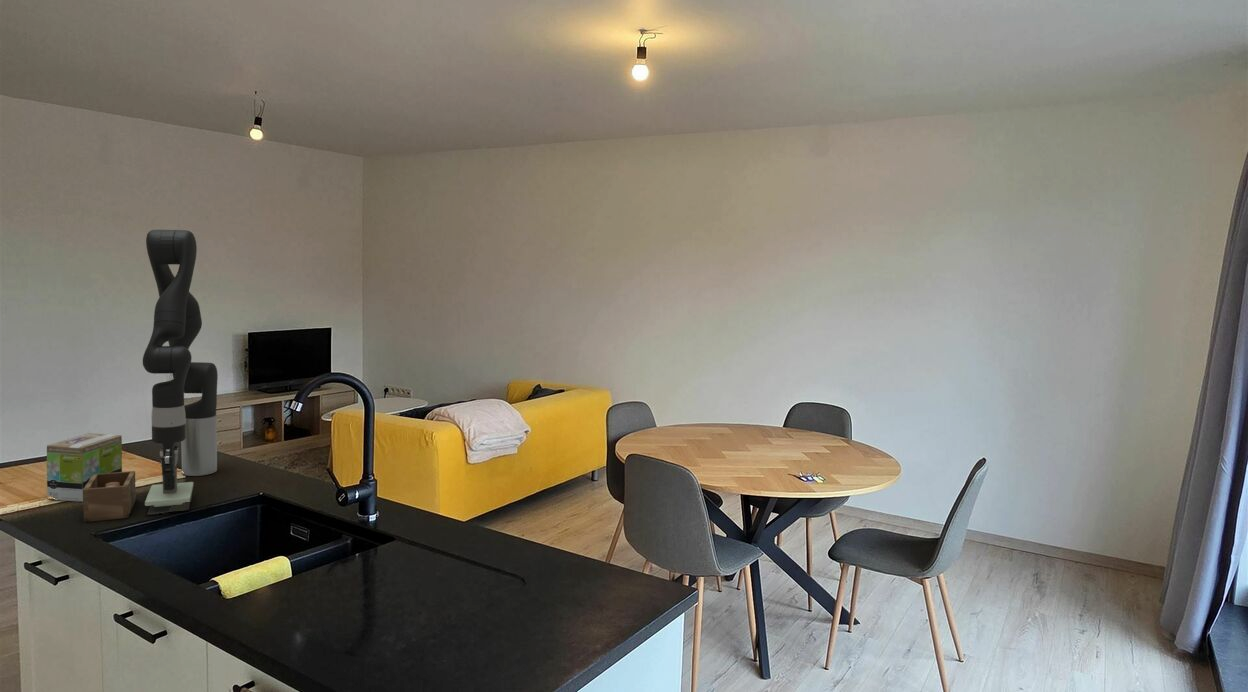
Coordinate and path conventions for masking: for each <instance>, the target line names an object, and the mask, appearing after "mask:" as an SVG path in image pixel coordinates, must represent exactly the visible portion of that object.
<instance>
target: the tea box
mask: <svg viewBox="0 0 1248 692" xmlns="http://www.w3.org/2000/svg"><path fill="white" fill-rule="evenodd" d="M122 436H123V435H120V434H109V433H108V434H107V433H105V434H104V433H92V432H91V433H89V432H87V433H84V434H82V435H78V436H75V437H71V438H68V439H64V440H62V441H58V442H54V443H51V444H47V445H46V497H47V496H51V497H53V498H55V499H57V500H56V501H61V502H62V501H63V502H64V501H65V502H82V503H83V489H84V487H85V486H86V484H87V483H88V481H89V480H90V479H91V477H92V476H93V474H99V473H113V472H123V461H122V459H123V452H122V451H123V450H122V449H123V441H122V440H123V438H122Z"/></svg>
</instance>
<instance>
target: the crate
mask: <svg viewBox="0 0 1248 692" xmlns="http://www.w3.org/2000/svg"><path fill="white" fill-rule="evenodd" d="M136 490H137V489H136V470H130V471H129V470H127V471H122V472H113V473H99V474H93V476H92V477H91V479H90V480H89V481H88V483H87V484H86V486H85V487H84V489H83V502H82V504H83V505H82V506H83V508H82V509H83V522H84V523H86V522H87V523H88V522H98V521H109V520H119V519H128V518H129V516H130V514H131V511H132V510H133V508H134V505H135V503H136V500H137V499H136V498H137V497H136V495H137V493H136Z"/></svg>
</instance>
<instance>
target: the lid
mask: <svg viewBox="0 0 1248 692" xmlns="http://www.w3.org/2000/svg"><path fill="white" fill-rule="evenodd" d="M166 471H171V469H166ZM161 475H162V476H161V477H162V483H161V484H151V486H150V489H149V491H148V493H147V496H146V499H145V501H144V506H146V507H148V506H149V507H150V506H151V505H154V507H159V506H171V505H182V504H183V503H185V502H190V498H191V496H192V493H193V490H194V481H188V482H187V481H186V482H178V467H175V475H174V489H173V490H165V489H164V476H163V474H162V473H161Z"/></svg>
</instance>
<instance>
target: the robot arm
mask: <svg viewBox="0 0 1248 692" xmlns="http://www.w3.org/2000/svg"><path fill="white" fill-rule="evenodd" d="M145 244H146V252H147V256H148V260H149V262H150V266H151V270H152V273H153V276H154V279H155V282H156V286H157V290H158V291H157V292H158V299H157V301H156V304H155V306H154V313H153V327H152V332H151V333H152V334H151V336H150V340H149V341H148V344H147V346H146V348H145V350H144V353H143V357H142V366H143V368H144V369H145V371H146V372H147V373H149V374H154V375H155V374H158V375H161V374H162V375H163V374H172V379H171V380H166V381H161V382H158V383H155V384H154V385H153V386H152V389H151V396H152V397H151V398H152V399H151V401H152V402H151V404H152V405H151V406H152V408H151V440H152V442H153V443H155V444H162V446H161V447H160V449H159V456H160V467H161V471H162V472H161V475H162V474H163V476H164V489H165V490H173V489H174V475H175V467H177V466H178V462H179V450H180V449H181V452H180V453H181V472H182V471H183V472H184V474H185V475H184V476H191V477H198V476H199V477H200V476H206V475H210V474H211V475H212V474H214V473H216V472H217V470H218V448H217V447H218V443H217V442H218V439H217V438H218V436H217V434H218V433H217V430H218V429H217V405H218V400H217V399H218V397H217V395H218V379H219V377H218V376H219V375H218V368H217V366H216V364H215V363H213V362H206V361H205V362H203V361H202V362H197V361H196V362H195V361H194V362H193V361H192V353H191V351H190V347H191V345H192V344H193V342H194V341H195V339H196V337H197V336H198V334H199V333H200V331H201V328H202V325H203V321H202V315H201V309H200V308H201V307H200V304H199V302H198V300H197V299H196V298H195V296H194V295H193V294H192V293H191V292H190V289H191V284H192V280H193V275H194V270H195V264H196V259H197V252H198V251H197V249H198V248H197V247H198V246H197V240H196V237H195V235H194V233H193V232H192V231H190V230H188V229H187V230H185V229H152V230H149V231H148V233H147V234H146V238H145ZM170 265H178V270H177V272H176V275H174V273H173V272H172V270H171V268H170ZM167 342H168V345H164V344H165V343H167ZM185 394H201V398H200V399H199V400H197V401H195V402H192V403H188V404H186V405H185ZM177 443H181V444H180V445H181V446H180V447H181V448H180V447H179V445H178V444H177ZM177 468H178V467H177ZM166 469H171V471H166ZM163 476H162V477H163Z"/></svg>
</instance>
